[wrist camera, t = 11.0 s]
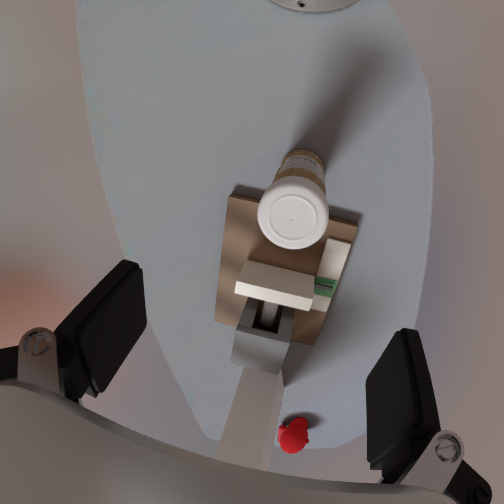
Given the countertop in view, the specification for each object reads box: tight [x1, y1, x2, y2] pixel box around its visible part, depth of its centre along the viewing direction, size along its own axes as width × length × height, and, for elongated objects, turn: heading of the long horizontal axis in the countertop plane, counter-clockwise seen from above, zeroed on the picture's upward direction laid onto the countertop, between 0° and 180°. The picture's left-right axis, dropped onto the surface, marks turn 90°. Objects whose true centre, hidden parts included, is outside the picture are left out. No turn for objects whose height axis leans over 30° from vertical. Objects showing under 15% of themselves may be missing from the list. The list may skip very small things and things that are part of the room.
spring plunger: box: [235, 260, 333, 327], centre depth 34 cm, size 7×10×4 cm, turn 81°
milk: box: [215, 367, 284, 472], centre depth 37 cm, size 6×6×22 cm
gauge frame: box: [214, 193, 358, 375], centre depth 34 cm, size 18×14×8 cm
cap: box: [278, 417, 309, 454], centre depth 51 cm, size 8×6×6 cm
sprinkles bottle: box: [257, 150, 329, 249], centre depth 24 cm, size 5×5×14 cm
